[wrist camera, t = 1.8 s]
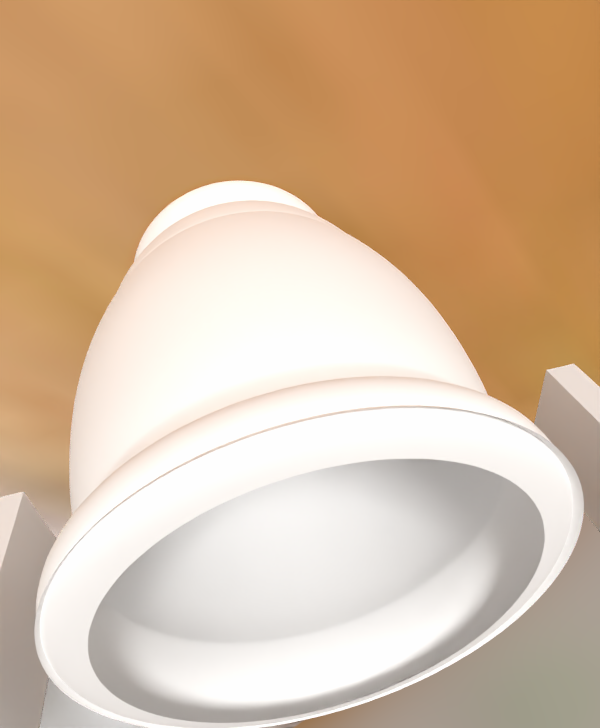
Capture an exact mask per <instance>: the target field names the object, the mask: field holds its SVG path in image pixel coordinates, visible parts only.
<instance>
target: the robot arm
mask: <svg viewBox="0 0 600 728" xmlns="http://www.w3.org/2000/svg"><path fill="white" fill-rule="evenodd" d="M534 424H535V425H536V426H537V427H538V428H539V429H540V430H541V431H542V432H543V433H544V434H545V436H546V437H547V438H548V439H549V440H550V442H551V443H552V444H553V445H554V446H556V447H557V448H558V449H559V450H560V451H561V452H562V453H563V454H564V455H565V457H566V458H567V459H568V460H569V462H570V463H571V465H572V466H573V468H574V470H575V471H576V473H577V476H578V478H579V481H580V484H581V487H582V492H583V499H584V513H585V514H586V515H587V517H588V518H589V519H590V520H591V522H592V523H593V524H594V525H595V526H596V528H597V529H598V530H599V532H600V387H599V386H598V385H597V384H596V383H595V382H593V381H592V380H591V379H590V378H589V377H588V376H587V375H586V374H585V373H584V372H582V371H581V370H580V369H579V368H578V367H577V366H576V365H575V364H571V365H566V366H562V367H558V368H553V369H549V370H546V374H545V379H544V383H543V387H542V392H541V396H540V401H539V405H538V409H537V414H536V418H535V423H534ZM55 541H56V537H55V536H54V534H53V533H52V531H51V530H50V529H49V527H48V526H47V524H46V523H45V521H44V520H43V518H42V517H41V516H40V514H39V513H38V511H37V510H36V508H35V507H34V506H33V504H32V503H31V501H30V500H29V498H28V497H27V496H26V494H25V493H24V492H20V493H16V494H11V495H7V496H3V497H0V728H39V727H40V721H41V716H42V710H43V705H44V699H45V694H46V688H47V683H48V677H49V676H48V675H47V673H46V672H45V670H44V668H43V666H42V664H41V662H40V660H39V657H38V654H37V650H36V645H35V636H34V629H35V619H36V598H37V591H38V586H39V582H40V578H41V574H42V571H43V568H44V565H45V562H46V559H47V557H48V554H49V552H50V550H51V548H52V546H53V544H54V542H55Z"/></svg>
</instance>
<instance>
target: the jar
mask: <svg viewBox="0 0 600 728" xmlns="http://www.w3.org/2000/svg"><path fill="white" fill-rule="evenodd" d="M69 477H70V499H71V510H72V516H71V517H70V519H69V520H68V522H67V523H66V525H65V526H64V528H63V529H62V531H61V532H60V534H59V536H58V537H57V539H56V541H55V542H54V544H53V546H52V548H51V550H50V552H49V554H48V557H47V559H46V562H45V565H44V568H43V571H42V574H41V578H40V582H39V586H38V591H37V598H36V619H35V629H34V636H35V645H36V650H37V654H38V657H39V660H40V662H41V664H42V666H43V668H44V670H45V672H46V673H47V675H48V676H49V678H50V679H51V680H52V682H53V683H54V684H55V685H56V686H57V687H58V688H59V689H60V690H61V691H62V692H63V693H65V694H66V695H67V696H68V697H70V698H71V699H72V700H74V701H75V702H77V703H79V704H80V705H82V706H84V707H86V708H88V709H90V710H92V711H94V712H96V713H98V714H101V715H103V716H106V717H109V718H112V719H115V720H118V721H121V722H125V723H129V724H133V725H138V726H143V727H149V728H261V727H268V726H274V725H280V724H286V723H291V722H296V721H301V720H306V719H310V718H314V717H318V716H322V715H326V714H330V713H333V712H337V711H340V710H344V709H347V708H350V707H354V706H357V705H360V704H362V703H366V702H369V701H371V700H374V699H377V698H380V697H382V696H385V695H387V694H390V693H392V692H395V691H397V690H400V689H402V688H404V687H407V686H409V685H411V684H413V683H416V682H418V681H420V680H422V679H424V678H426V677H428V676H430V675H432V674H434V673H436V672H438V671H440V670H442V669H444V668H446V667H448V666H449V665H451V664H453V663H455V662H456V661H458V660H460V659H462V658H463V657H465V656H466V655H468V654H470V653H471V652H473V651H475V650H476V649H478V648H479V647H480V646H482V645H484V644H485V643H487V642H488V641H489V640H491V639H492V638H494V637H495V636H496V635H498V634H499V633H500V632H502V631H503V630H504V629H506V628H507V627H508V626H509V625H511V624H512V623H513V622H514V621H515V620H517V619H518V618H519V617H520V616H521V615H522V614H523V613H524V612H526V611H527V609H529V608H530V607H531V606H532V605H533V604H534V603H535V602H536V601H537V599H539V597H541V595H542V594H543V593H544V592H545V591H546V590H547V589H548V587H549V586H550V585H551V584H552V583H553V581H554V580H555V579H556V577H557V576H558V575H559V573H560V572H561V570H562V569H563V567H564V566H565V564H566V562H567V561H568V559H569V557H570V555H571V553H572V551H573V549H574V547H575V544H576V542H577V539H578V537H579V533H580V530H581V526H582V521H583V513H584V499H583V492H582V487H581V484H580V481H579V478H578V476H577V473H576V471H575V470H574V468H573V466H572V465H571V463H570V462H569V460H568V459H567V458H566V457H565V455H564V454H563V453H562V452H561V451H560V450H559V449H558V448H557V447H556V446H554V445H553V444H552V443H551V442H550V440H549V439H548V438H547V437H546V436H545V434H544V433H543V432H542V431H541V430H540V429H539V428H538V427H537V426H536V425H535V424H533V423H532V422H531V421H530V420H529V419H528V418H526V417H525V416H524V415H523V414H521V413H520V412H518V411H517V410H515V409H514V408H512V407H510V406H508V405H507V404H505V403H503V402H501V401H499V400H497V399H495V398H493V397H491V396H488V395H487V392H486V390H485V388H484V386H483V384H482V382H481V380H480V378H479V376H478V374H477V372H476V370H475V368H474V366H473V365H472V363H471V361H470V359H469V358H468V356H467V354H466V352H465V351H464V349H463V347H462V346H461V344H460V343H459V341H458V340H457V338H456V336H455V335H454V333H453V332H452V330H451V329H450V328H449V326H448V325H447V323H446V322H445V321H444V319H443V318H442V316H441V315H440V314H439V313H438V311H437V310H436V309H435V307H434V306H433V305H432V304H431V303H430V301H429V300H428V299H427V298H426V297H425V296H424V295H423V293H422V292H421V291H420V290H419V289H418V288H417V287H416V286H415V285H414V284H413V283H412V282H411V281H410V280H409V279H408V278H407V277H406V276H405V275H404V274H403V273H402V272H400V271H399V270H398V269H397V268H396V267H395V266H393V265H392V264H391V263H390V262H389V261H387V260H386V259H385V258H384V257H382V256H381V255H380V254H378V253H377V252H375V251H374V250H373V249H371V248H370V247H368V246H367V245H365V244H363V243H362V242H360V241H359V240H357V239H355V238H354V237H352V236H350V235H348V234H346V233H345V232H343V231H342V230H341V229H339V228H338V227H336V226H335V225H333V224H331V223H330V222H328V221H326V220H324V219H323V218H321V217H319V216H317V214H316V213H315V212H314V211H313V210H312V209H311V208H310V207H309V206H308V205H306V204H305V203H304V202H303V201H301V200H300V199H299V198H297V197H296V196H294V195H292V194H290V193H288V192H286V191H284V190H282V189H280V188H277V187H274V186H271V185H268V184H264V183H259V182H252V181H226V182H219V183H214V184H210V185H206V186H203V187H200V188H197V189H195V190H193V191H190V192H188V193H186V194H185V195H183V196H181V197H179V198H178V199H176V200H175V201H173V202H172V203H171V204H169V205H168V206H167V207H166V208H165V209H164V210H162V211H161V212H160V213H159V214H158V215H157V217H156V218H155V219H154V220H153V221H152V223H151V224H150V225H149V227H148V228H147V230H146V231H145V233H144V235H143V237H142V239H141V241H140V243H139V246H138V249H137V252H136V255H135V259H134V263H133V264H132V266H131V267H130V269H129V271H128V272H127V274H126V276H125V277H124V279H123V281H122V283H121V285H120V287H119V289H118V291H117V293H116V294H115V296H114V298H113V299H112V301H111V303H110V304H109V306H108V308H107V310H106V311H105V313H104V315H103V317H102V319H101V321H100V323H99V325H98V327H97V330H96V332H95V334H94V337H93V339H92V341H91V344H90V347H89V349H88V352H87V355H86V358H85V361H84V364H83V368H82V371H81V375H80V379H79V383H78V388H77V392H76V398H75V403H74V410H73V417H72V426H71V438H70V461H69Z"/></svg>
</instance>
